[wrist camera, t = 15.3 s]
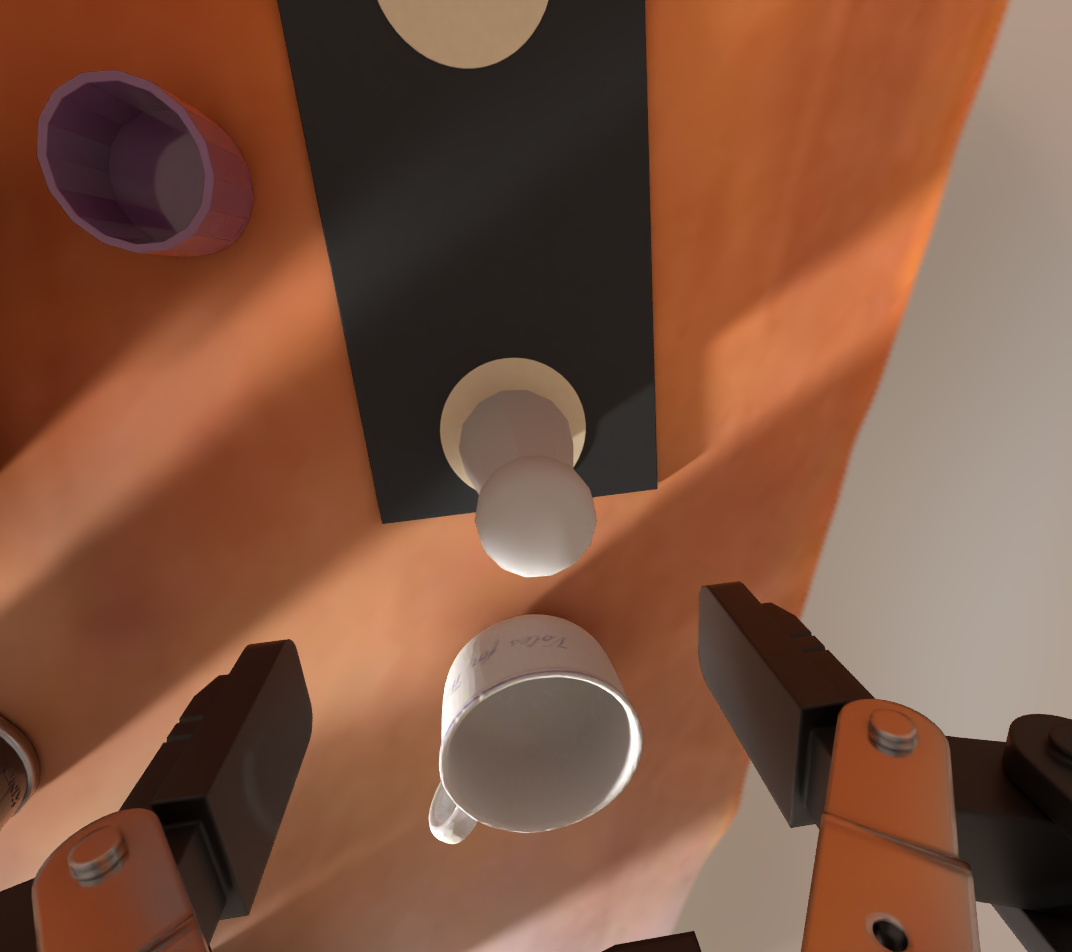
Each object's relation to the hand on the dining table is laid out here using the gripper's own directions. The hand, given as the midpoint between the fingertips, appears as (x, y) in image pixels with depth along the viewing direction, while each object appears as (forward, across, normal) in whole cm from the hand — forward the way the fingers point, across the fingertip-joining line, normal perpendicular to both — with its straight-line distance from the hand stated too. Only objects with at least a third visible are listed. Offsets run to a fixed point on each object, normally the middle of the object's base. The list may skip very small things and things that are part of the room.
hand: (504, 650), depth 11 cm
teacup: (+22, 0, +18) cm, 28 cm away
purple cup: (+22, +13, -12) cm, 28 cm away
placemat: (+22, -2, -9) cm, 24 cm away
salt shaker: (+21, -2, +1) cm, 21 cm away
